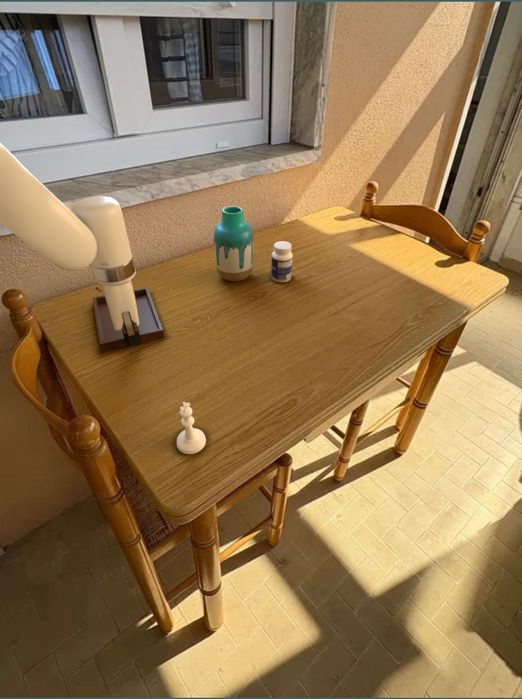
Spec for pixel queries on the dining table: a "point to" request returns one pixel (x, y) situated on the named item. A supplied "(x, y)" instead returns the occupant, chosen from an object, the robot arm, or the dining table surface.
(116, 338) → the tray
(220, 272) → the vase
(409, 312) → the dining table surface
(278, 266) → the pill bottle
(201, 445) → the chess piece
